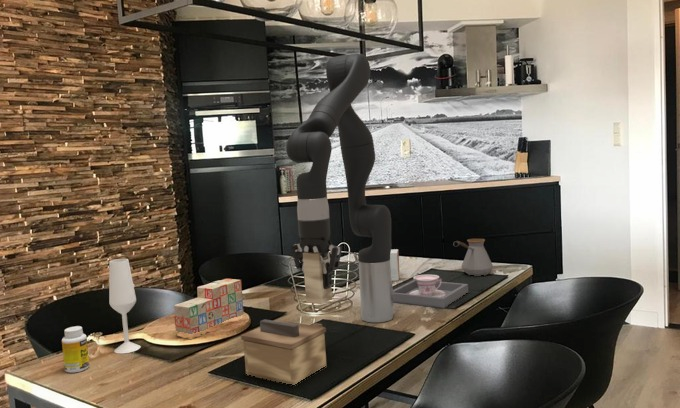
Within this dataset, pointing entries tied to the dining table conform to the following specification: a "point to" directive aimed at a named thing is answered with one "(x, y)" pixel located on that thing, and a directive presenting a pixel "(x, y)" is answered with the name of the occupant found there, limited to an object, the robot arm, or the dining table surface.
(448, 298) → the coaster tray
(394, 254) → the small box
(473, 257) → the coffee pot
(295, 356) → the open wooden box
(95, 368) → the dining table surface
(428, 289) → the teacup
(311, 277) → the key block
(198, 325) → the stack of blocks
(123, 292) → the champagne flute
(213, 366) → the dining table surface
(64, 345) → the supplement bottle
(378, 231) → the robot arm
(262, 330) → the lid
